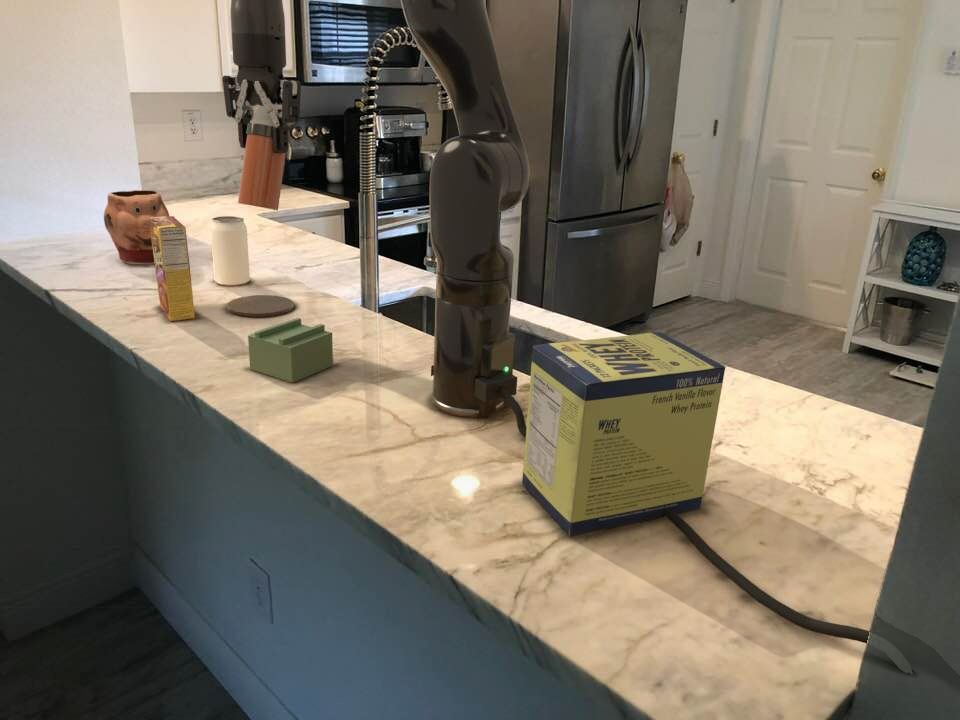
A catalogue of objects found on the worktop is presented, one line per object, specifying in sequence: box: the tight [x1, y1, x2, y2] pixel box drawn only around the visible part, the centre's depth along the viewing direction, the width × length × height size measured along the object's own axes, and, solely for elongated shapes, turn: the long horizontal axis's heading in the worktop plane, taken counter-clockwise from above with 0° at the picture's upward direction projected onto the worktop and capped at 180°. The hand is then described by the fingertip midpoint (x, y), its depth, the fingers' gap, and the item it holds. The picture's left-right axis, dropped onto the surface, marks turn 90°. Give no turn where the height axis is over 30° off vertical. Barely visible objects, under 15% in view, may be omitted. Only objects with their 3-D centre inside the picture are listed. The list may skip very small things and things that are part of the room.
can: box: [210, 215, 251, 287], centre depth 143 cm, size 6×6×12 cm
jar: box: [237, 122, 291, 212], centre depth 117 cm, size 12×6×6 cm
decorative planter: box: [103, 189, 170, 265], centre depth 155 cm, size 20×12×14 cm, turn 43°
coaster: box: [226, 294, 294, 318], centre depth 131 cm, size 11×11×1 cm
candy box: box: [149, 215, 196, 322], centre depth 123 cm, size 9×4×15 cm, turn 31°
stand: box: [247, 317, 334, 383], centre depth 105 cm, size 8×8×6 cm
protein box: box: [521, 331, 726, 537], centre depth 75 cm, size 10×16×16 cm
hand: (263, 150), depth 116 cm, fingers closed on jar, 6 cm apart
